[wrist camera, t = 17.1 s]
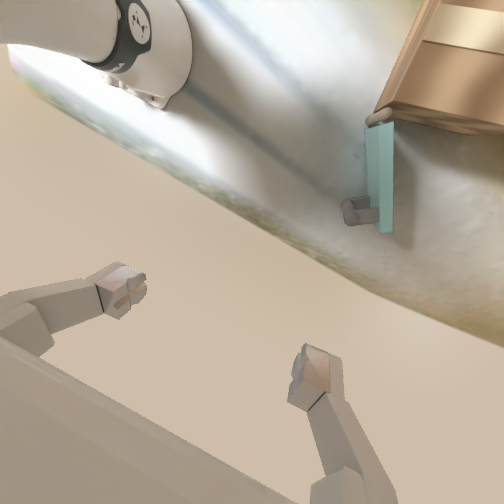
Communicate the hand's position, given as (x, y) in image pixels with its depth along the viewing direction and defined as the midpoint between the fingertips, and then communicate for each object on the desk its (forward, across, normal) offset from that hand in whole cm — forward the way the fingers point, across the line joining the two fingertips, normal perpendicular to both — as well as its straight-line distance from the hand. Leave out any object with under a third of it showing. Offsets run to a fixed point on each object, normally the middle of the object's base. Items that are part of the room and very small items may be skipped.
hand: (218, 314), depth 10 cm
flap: (+37, -9, -4) cm, 38 cm away
